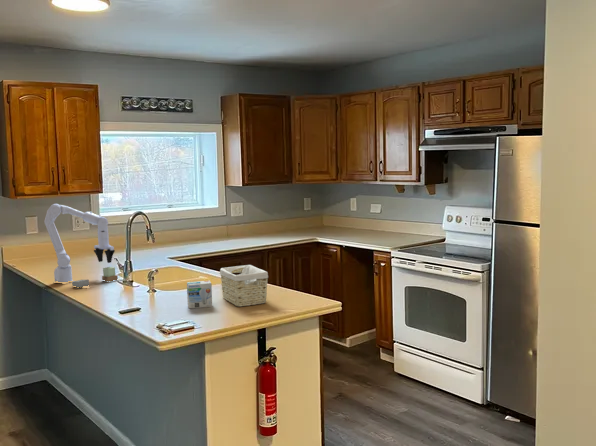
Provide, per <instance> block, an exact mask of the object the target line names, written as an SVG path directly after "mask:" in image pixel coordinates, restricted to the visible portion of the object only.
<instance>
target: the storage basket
mask: <svg viewBox="0 0 596 446" xmlns="http://www.w3.org/2000/svg"><path fill="white" fill-rule="evenodd" d="M235 273H239V274H235ZM219 274H220V281H221V283H220V284H221V291H222V298H223V299H224V300H226V301H227V302H229V303H231V304H233V305H235V306H236V307H246V306H251V305H252V306H255V305H261V304H266V302H267V298H268V297H267V294H268V293H267V291H268V289H267V288H268V279H269V273H268V271H266V270H264V269H261V268H258V267H256V266H254V265H252V264H245V265H236V266H228V267H221V268H220V270H219Z"/></svg>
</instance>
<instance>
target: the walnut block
mask: <svg viewBox="0 0 596 446" xmlns="http://www.w3.org/2000/svg"><path fill="white" fill-rule="evenodd" d="M117 279H118V275H116V274H115V276H110V277H106V276H103V275H102V276H101V281H102V280H105V281H113V280H117ZM118 280H119V279H118Z"/></svg>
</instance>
